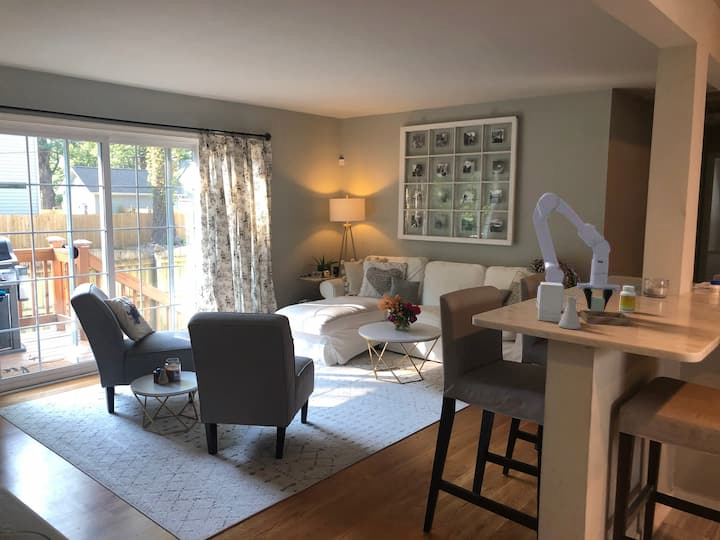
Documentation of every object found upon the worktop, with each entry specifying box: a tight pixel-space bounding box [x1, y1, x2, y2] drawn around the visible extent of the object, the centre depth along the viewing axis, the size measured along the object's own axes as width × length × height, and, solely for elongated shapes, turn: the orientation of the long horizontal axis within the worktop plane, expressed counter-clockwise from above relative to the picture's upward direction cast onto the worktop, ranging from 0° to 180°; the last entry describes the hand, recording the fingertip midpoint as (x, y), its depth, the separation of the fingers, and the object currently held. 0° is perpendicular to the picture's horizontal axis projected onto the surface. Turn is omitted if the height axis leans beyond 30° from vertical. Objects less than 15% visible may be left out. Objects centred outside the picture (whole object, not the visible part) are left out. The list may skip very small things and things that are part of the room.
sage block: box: [587, 296, 605, 312], centre depth 210 cm, size 4×4×6 cm
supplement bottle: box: [618, 285, 637, 313], centre depth 216 cm, size 5×5×10 cm
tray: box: [579, 309, 632, 327], centre depth 197 cm, size 14×12×2 cm
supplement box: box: [537, 281, 564, 323], centre depth 196 cm, size 7×7×13 cm
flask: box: [558, 295, 582, 330], centre depth 185 cm, size 7×7×10 cm
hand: (596, 309), depth 210 cm, fingers closed on sage block, 4 cm apart
